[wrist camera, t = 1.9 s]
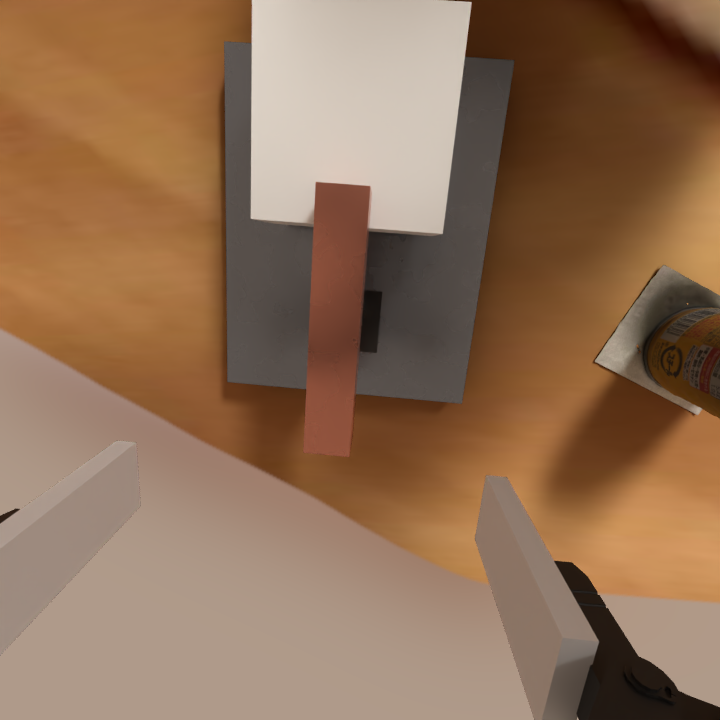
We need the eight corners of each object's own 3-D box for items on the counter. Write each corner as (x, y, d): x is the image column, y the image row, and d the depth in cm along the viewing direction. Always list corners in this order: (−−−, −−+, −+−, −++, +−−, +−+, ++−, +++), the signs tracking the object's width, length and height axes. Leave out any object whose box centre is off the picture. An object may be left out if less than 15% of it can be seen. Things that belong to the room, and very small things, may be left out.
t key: (338, 203, 25) (315, 181, 16) (374, 206, 25) (370, 185, 16) (327, 392, 28) (303, 452, 20) (359, 395, 28) (349, 457, 20)
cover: (277, 38, 21) (252, -12, 17) (454, 49, 21) (471, 1, 17) (273, 223, 23) (250, 218, 19) (432, 236, 23) (442, 233, 19)
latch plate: (236, 57, 25) (182, -13, 18) (504, 74, 24) (550, 8, 18) (237, 373, 30) (195, 409, 24) (456, 393, 30) (478, 436, 23)
